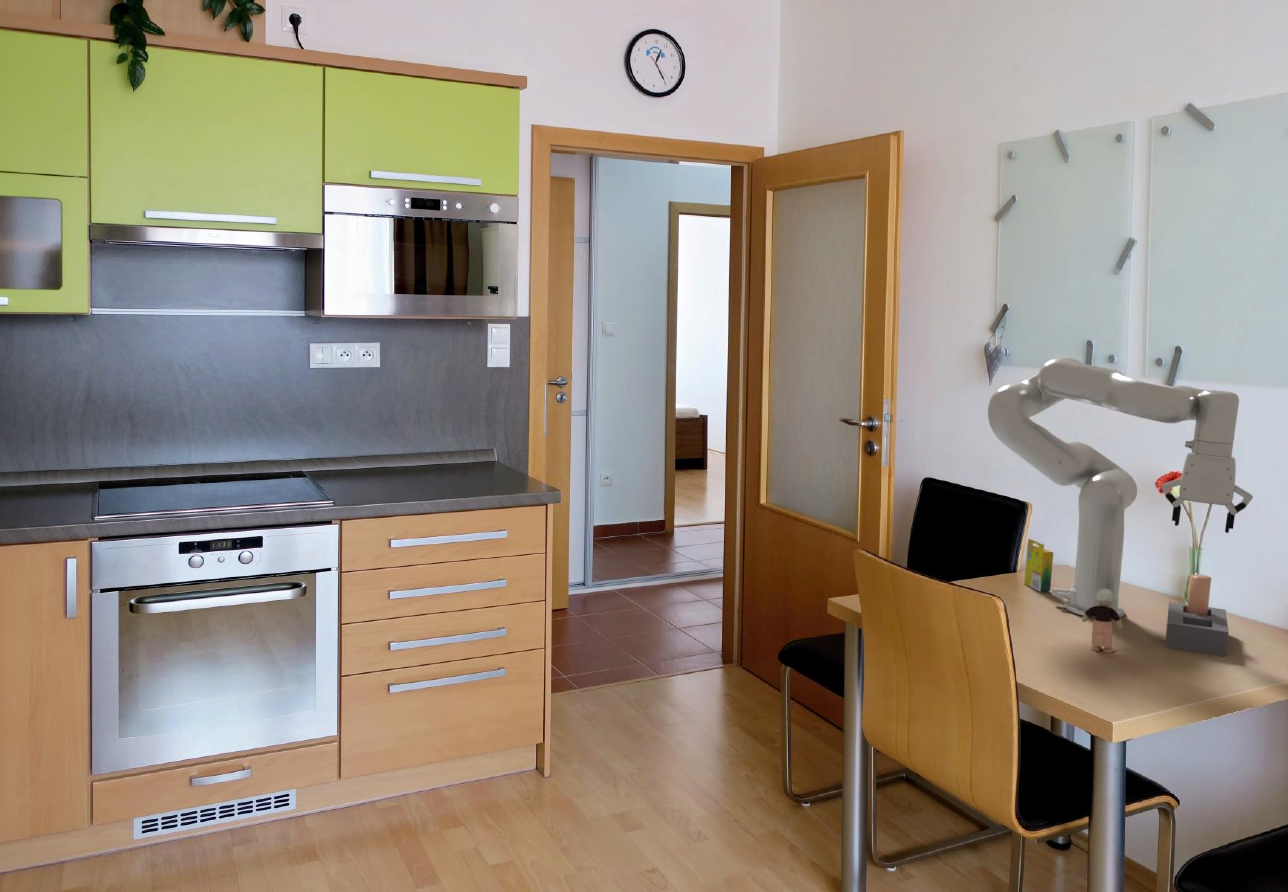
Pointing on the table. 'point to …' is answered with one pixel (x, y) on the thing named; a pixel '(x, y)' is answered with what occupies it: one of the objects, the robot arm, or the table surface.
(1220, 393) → the robot arm
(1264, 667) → the table surface
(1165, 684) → the table surface
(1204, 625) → the socket block
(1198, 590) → the terracotta peg
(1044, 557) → the crayon box
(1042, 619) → the table surface
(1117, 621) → the grandmother figurine
